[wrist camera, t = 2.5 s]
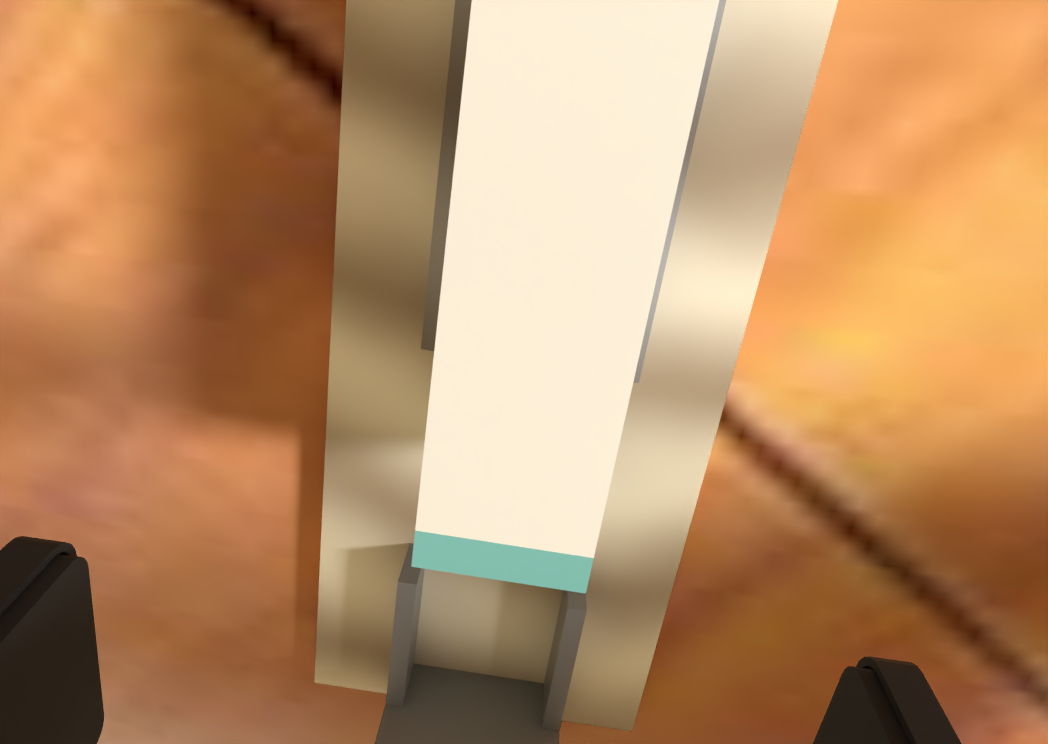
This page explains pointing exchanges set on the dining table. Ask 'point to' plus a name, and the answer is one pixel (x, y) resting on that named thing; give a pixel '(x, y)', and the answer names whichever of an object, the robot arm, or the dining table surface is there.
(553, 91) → the white teal block
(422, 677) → the socket
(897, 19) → the dining table surface
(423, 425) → the base
